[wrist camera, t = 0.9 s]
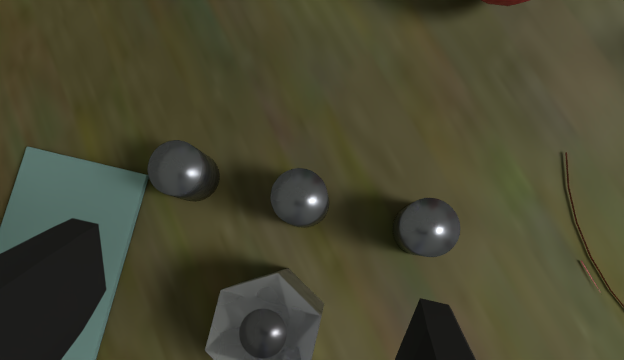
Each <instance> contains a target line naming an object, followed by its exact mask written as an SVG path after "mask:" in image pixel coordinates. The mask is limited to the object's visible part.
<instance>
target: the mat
mask: <svg viewBox="0 0 624 360" xmlns="http://www.w3.org/2000/svg"><path fill="white" fill-rule="evenodd" d="M148 178H149V176H148V175H145V174H141V173H137V172H133V171H128V170H124V169H120V168H116V167H112V166H107V165H103V164H99V163H95V162H90V161H86V160H82V159H78V158H74V157H69V156H65V155H61V154H57V153H53V152H48V151H44V150H40V149H36V148H31V147H27V148H26V151H25V154H24V157H23V160H22V163H21V166H20V169H19V172H18V175H17V178H16V181H15V185H14V188H13V191H12V194H11V197H10V200H9V203H8V206H7V209H6V212H5V215H4V218H3V221H2V224H1V227H0V253H3V252H5V251H7V250H9V249H11V248H13V247H14V246H16V245H18V244H20V243H22V242H24V241H26V240H28V239H30V238H32V237H34V236H36V235H38V234H40V233H42V232H44V231H46V230H48V229H50V228H52V227H54V226H56V225H58V224H61V223H63V222H65V221H67V220H69V219H71V218H75V219H79V220H83V221H88V222H92V223H96V224H99V232H100V240H101V248H102V257H103V265H104V273H105V281H106V291H105V293H104V295H103V297H102V299H101V300H100V302H99V304H98V306H97V308H96V309H95V311H94V313H93V314H92V316H91V318H90V319H89V321H88V323H87V324H86V326H85V328H84V329H83V331H82V332H81V334H80V335H79V336H78V338H77V339H76V341H75V342H74V343H73V345H72V346H71V347H70V349H69V350H68V351H67V353H66V354H65V355H64V357H63V358H62V359H61V360H96V357H97V354H98V350H99V347H100V343H101V340H102V336H103V333H104V330H105V326H106V323H107V319H108V316H109V312H110V309H111V305H112V302H113V299H114V295H115V292H116V288H117V285H118V281H119V278H120V274H121V271H122V268H123V264H124V261H125V257H126V254H127V250H128V247H129V243H130V240H131V237H132V233H133V230H134V226H135V223H136V219H137V216H138V212H139V209H140V206H141V202H142V199H143V195H144V192H145V188H146V185H147V181H148Z"/></svg>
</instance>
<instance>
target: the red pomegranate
mask: <svg viewBox="0 0 624 360" xmlns="http://www.w3.org/2000/svg"><path fill="white" fill-rule="evenodd" d="M482 1H484V2H486V3H488V4H495V5H504V6H510V5H515V4H519V3H522V2H526V1H529V0H482Z"/></svg>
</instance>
